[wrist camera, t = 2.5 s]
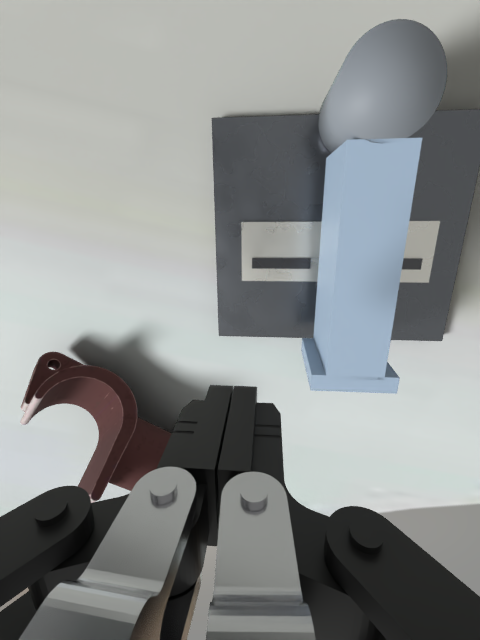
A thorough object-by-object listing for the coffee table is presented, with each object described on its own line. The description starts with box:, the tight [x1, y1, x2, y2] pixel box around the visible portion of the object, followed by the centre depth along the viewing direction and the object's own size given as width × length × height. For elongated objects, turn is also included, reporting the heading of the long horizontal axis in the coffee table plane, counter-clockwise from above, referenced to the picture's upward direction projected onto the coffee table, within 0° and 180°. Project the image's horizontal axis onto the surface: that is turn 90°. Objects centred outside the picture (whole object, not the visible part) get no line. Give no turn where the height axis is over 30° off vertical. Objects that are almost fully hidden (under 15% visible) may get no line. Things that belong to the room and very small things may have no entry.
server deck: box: [212, 109, 480, 341], centre depth 23 cm, size 16×18×4 cm
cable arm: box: [301, 19, 447, 393], centre depth 18 cm, size 17×5×6 cm, turn 0°
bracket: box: [20, 352, 172, 503], centre depth 28 cm, size 6×17×10 cm, turn 52°
